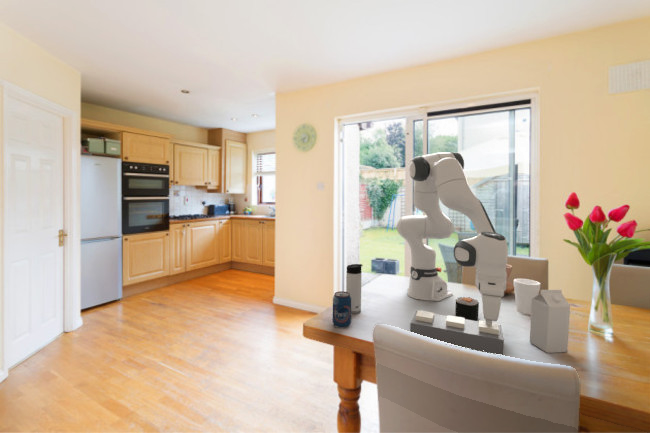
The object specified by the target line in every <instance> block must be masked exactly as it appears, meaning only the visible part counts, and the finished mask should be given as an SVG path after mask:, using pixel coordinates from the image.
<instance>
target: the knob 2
mask: <svg viewBox="0 0 650 433" xmlns="http://www.w3.org/2000/svg"><path fill="white" fill-rule="evenodd" d="M478 321H479V331H480V332H485V333H491V334H497V335H499V327H498V325H499V324H498V323H497V322H494V321H492V325H491V326H489V325H486V321H485V320H480V319H478Z"/></svg>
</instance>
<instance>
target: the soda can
mask: <svg viewBox="0 0 650 433" xmlns="http://www.w3.org/2000/svg"><path fill="white" fill-rule="evenodd" d="M351 323H352V314H351V297H350V294H349V293H348V292H346V291H342V290H341V291H336V292H334V295H333V297H332V324H333V325H334V327H336V328H338V329H345V328H346V329H347V328H348V327H349V326H350V325H351Z"/></svg>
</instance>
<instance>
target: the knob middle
mask: <svg viewBox="0 0 650 433" xmlns="http://www.w3.org/2000/svg"><path fill="white" fill-rule="evenodd" d="M446 316H447V319H446V326H452V327H458V328H463V329H464V323H465V318H462V317H456V316H455V315H450V314H447V315H446Z"/></svg>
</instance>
